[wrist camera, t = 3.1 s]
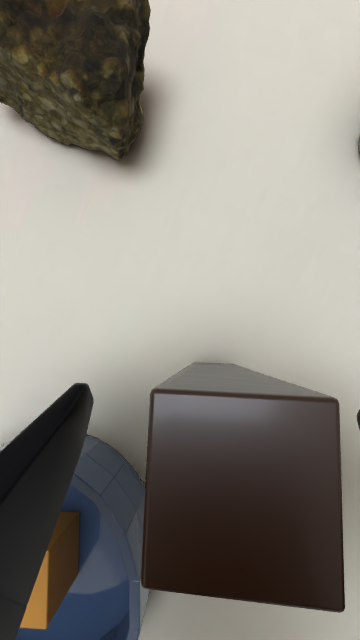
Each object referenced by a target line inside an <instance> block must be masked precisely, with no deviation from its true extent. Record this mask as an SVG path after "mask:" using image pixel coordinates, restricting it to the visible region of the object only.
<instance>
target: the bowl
mask: <svg viewBox="0 0 360 640" xmlns="http://www.w3.org/2000/svg"><path fill="white" fill-rule="evenodd" d="M7 445H8V444H7ZM7 445H5V446H2V447H0V452H1V451H2V450H3V449H4V448H5V447H6V446H7ZM144 504H145V487H144V485H143V483H142V481H141V480H140V478H139V476H138V475H137V473H136V472H135V470H134V469H133V468H132V467H131V465H130V464H129V463H128V462H127V461H126V460H125V459H124V458H123V457H122V456H121V455H120V454H119V453H118V452H117V451H116V450H114V449H113V448H111V447H110V446H109V445H107V444H106V443H104V442H102V441H100V440H98V439H96V438H94V437H91V436H89V435H86V437H85V441H84V445H83V448H82V451H81V455H80V457H79V460H78V463H77V466H76V469H75V472H74V474H73V477H72V480H71V483H70V486H69V489H68V491H67V494H66V497H65V500H64V503H63V506H62V508H61V511H60V512H79V573H78V575H77V577H76V579H75V581H74V582H73V584H72V586H71V587H70V589H69V591H68V593H67V594H66V596H65V598H64V599H63V601H62V603H61V605H60V606H59V608H58V610H57V612H56V613H55V615H54V617H53V618H52V620H51V622H50V624H49V625H48V627H47V629H31V628H19V631H18V634H17V636H16V639H15V640H138V637H139V633H140V629H141V625H142V621H143V617H144V612H145V608H146V604H147V600H148V596H149V591H150V589H145V588H143V587H142V584H141V561H142V542H143V523H144Z"/></svg>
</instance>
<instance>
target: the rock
mask: <svg viewBox="0 0 360 640" xmlns="http://www.w3.org/2000/svg"><path fill="white" fill-rule="evenodd" d="M150 11H151V10H150V6H149V2H148V0H0V102H1V103H4V104H6V105H8V106H11V107H13V108H14V109H15V110H16V111H17V112H18V113H19V114H21V115H22V116H23V117H24V119H25V120H26V121H27V122H30V123H32V124H33V125H34V126H35V127H36V128H37V129H39V130H40V131H41V132H43V133H44V134H45V135H46V136H47V137H53V138H54V139H56V140H58V141H59V142H60V143H61V144H64V143H65V144H66V145H70V144H76V145H78V146H80V147H83V148H86V149H89V150H98V151H99V150H103V151H104V152H106V153H107V154H109V155H111V156H112V157H114V158H115V159H116V160H120V159H121V158H122V157H123V156H125V155H127V153H128V152H129V149H130V145H131V144H132V143H133V142H134V140H135V139H136V137H137V135H138V133H139V132H140V129H141V125H142V121H143V111H142V109H141V106H140V99H139V95H140V93H141V92H142V91H143V90H144V87H143V82H144V64H143V59H144V50H145V46H146V43H147V40H148V37H149V30H150V26H149V17H150Z"/></svg>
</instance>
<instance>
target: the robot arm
mask: <svg viewBox="0 0 360 640" xmlns="http://www.w3.org/2000/svg"><path fill="white" fill-rule="evenodd" d="M92 407H93V396H92V393H91V391H90V388H89V385H88V384H86V383H75V384H74V385H72V386H71V387H70V388H69V389H68V390H67V391H66V392H65V393H64V394H63V395H62V396H61V397H59V398H58V399H57V400H56V401H55V402H54V403H53V404H52V405H51V406H50V407H49V408H47V409H46V410H45V411H44V412H43V413H42V414H41V415H40V416H39V417H38V418H37V419H35V420H34V421H33V422H32V423H31V424H30V425H29V426H28V427H27V428H26V429H25V430H23V431H22V432H21V433H20V434H19V435H18V436H17V437H16V438H15V439H14V440H13V441H11V442H10V443H9V444H8V445H7V446H6V447H5V448H4V449H3V450H2V451H1V452H0V640H15V639H16V636H17V634H18V631H19V628H20V625H21V622H22V619H23V617H24V614H25V611H26V608H27V606H26V605H27V604H28V602H29V599H30V596H31V593H32V591H33V588H34V585H35V582H36V579H37V576H38V574H39V571H40V568H41V565H42V562H43V559H44V557H45V554H46V551H47V548H48V545H49V542H50V540H51V537H52V534H53V531H54V528H55V525H56V523H57V520H58V517H59V514H60V511H61V508H62V506H63V503H64V500H65V497H66V494H67V491H68V489H69V486H70V483H71V480H72V477H73V474H74V472H75V469H76V466H77V463H78V460H79V457H80V455H81V451H82V448H83V445H84V441H85V437H86V433H87V428H88V424H89V420H90V416H91V411H92ZM357 421H358V425H359V429H360V410H359V412H358V414H357Z"/></svg>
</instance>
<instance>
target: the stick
mask: <svg viewBox="0 0 360 640" xmlns="http://www.w3.org/2000/svg"><path fill="white" fill-rule="evenodd" d="M141 584H142V587H143V588H145V589H151V590H159V591H168V592H176V593H184V594H192V595H200V596H209V597H217V598H225V599H233V600H241V601H249V602H258V603H266V604H274V605H282V606H290V607H299V608H307V609H315V610H323V611H331V612H343V611H344V609H345V595H344V559H343V523H342V488H341V452H340V416H339V403H338V400H337V399H335V398H333V397H330V396H327V395H324V394H321V393H318V392H315V391H312V390H309V389H306V388H303V387H300V386H297V385H294V384H291V383H288V382H285V381H282V380H279V379H276V378H273V377H270V376H267V375H264V374H261V373H258V372H255V371H252V370H249V369H246V368H243V367H240V366H237V365H234V364H218V363H195V362H194V363H192V364H191V365H189V366H188V367H186V368H184V369H183V370H181V371H180V372H178V373H177V374H175V375H174V376H172V377H171V378H169V379H167V380H166V381H164V382H163V383H161V384H160V385H158V386H157V387H155V388H154V389H152V391H151V393H150V408H149V427H148V446H147V465H146V484H145V504H144V523H143V542H142V561H141Z"/></svg>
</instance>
